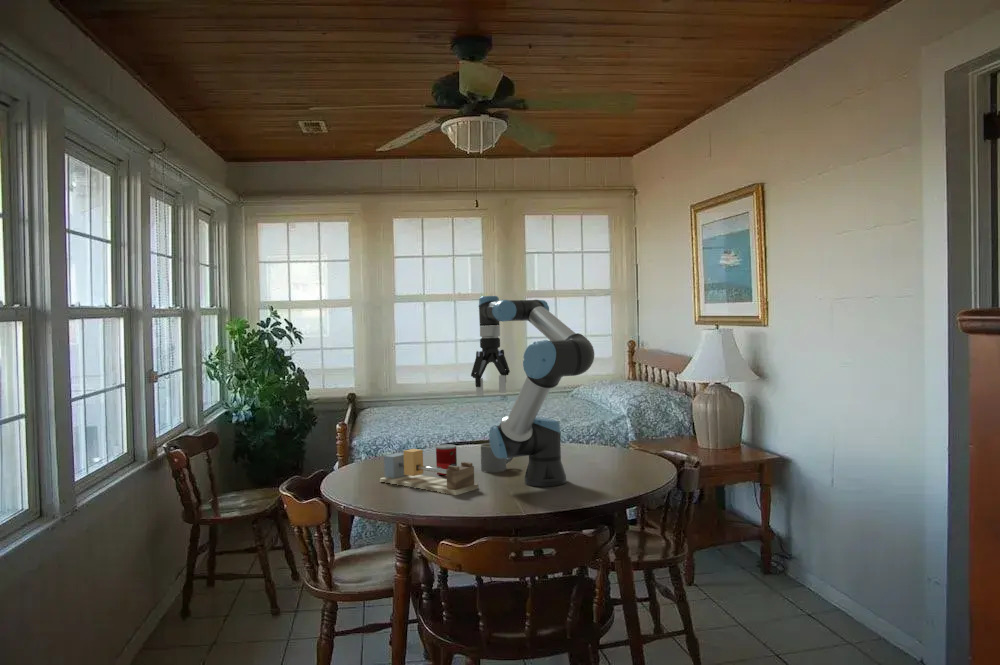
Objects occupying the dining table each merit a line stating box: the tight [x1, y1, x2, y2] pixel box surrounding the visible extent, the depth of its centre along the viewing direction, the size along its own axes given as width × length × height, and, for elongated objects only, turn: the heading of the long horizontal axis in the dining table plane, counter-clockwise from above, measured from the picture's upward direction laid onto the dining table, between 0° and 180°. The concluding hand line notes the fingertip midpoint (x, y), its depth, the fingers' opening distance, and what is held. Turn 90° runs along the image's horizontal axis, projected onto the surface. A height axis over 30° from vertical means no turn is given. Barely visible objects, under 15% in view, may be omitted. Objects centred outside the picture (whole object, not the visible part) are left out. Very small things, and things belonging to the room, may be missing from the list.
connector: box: [383, 452, 406, 479], centre depth 267 cm, size 5×7×8 cm
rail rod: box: [399, 463, 448, 474], centre depth 257 cm, size 29×4×4 cm, turn 52°
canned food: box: [435, 443, 458, 476], centre depth 275 cm, size 8×8×11 cm
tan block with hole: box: [402, 448, 424, 476], centre depth 261 cm, size 5×5×9 cm
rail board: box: [379, 461, 479, 496], centre depth 257 cm, size 38×12×9 cm, turn 52°
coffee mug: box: [480, 442, 514, 473], centre depth 281 cm, size 13×10×10 cm
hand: (491, 394), depth 265 cm, fingers open, 13 cm apart
